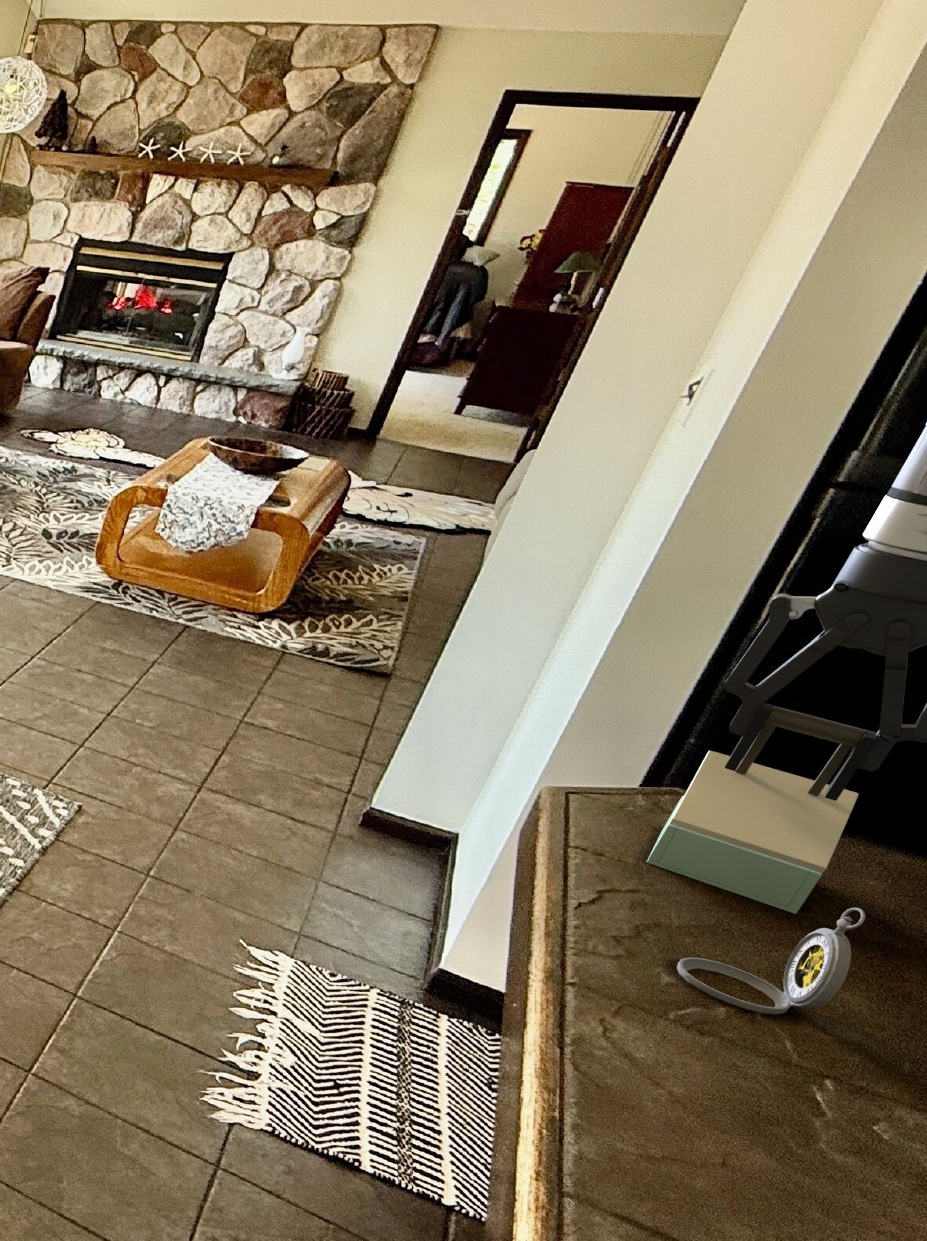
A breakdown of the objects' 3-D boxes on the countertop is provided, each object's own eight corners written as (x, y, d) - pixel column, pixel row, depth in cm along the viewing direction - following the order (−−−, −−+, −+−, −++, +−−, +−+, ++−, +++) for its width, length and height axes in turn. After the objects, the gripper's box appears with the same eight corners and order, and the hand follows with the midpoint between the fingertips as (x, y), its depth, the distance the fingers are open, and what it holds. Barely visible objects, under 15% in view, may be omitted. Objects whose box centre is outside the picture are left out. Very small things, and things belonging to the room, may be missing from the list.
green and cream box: (660, 833, 124) (682, 795, 122) (801, 880, 116) (828, 840, 114) (644, 865, 117) (668, 825, 115) (794, 917, 110) (821, 875, 108)
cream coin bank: (705, 755, 120) (746, 687, 114) (855, 799, 113) (906, 729, 107) (668, 824, 115) (709, 756, 109) (822, 873, 108) (874, 804, 102)
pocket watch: (651, 963, 100) (712, 865, 96) (748, 972, 100) (813, 874, 96) (747, 1028, 93) (817, 924, 89) (852, 1037, 93) (927, 933, 89)
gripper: (764, 529, 108) (641, 750, 117) (1098, 592, 95) (929, 836, 104) (771, 519, 112) (652, 733, 122) (1091, 578, 99) (930, 813, 108)
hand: (780, 780), depth 113 cm, fingers closed on cream coin bank, 6 cm apart
